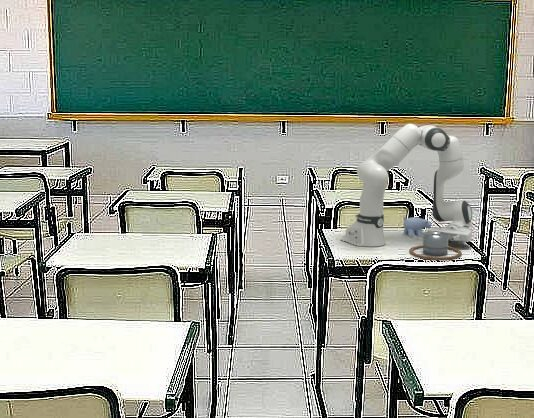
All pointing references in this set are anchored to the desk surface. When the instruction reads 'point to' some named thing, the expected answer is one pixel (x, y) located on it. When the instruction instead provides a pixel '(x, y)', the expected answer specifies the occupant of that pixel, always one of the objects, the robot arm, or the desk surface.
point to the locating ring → (435, 257)
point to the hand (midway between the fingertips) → (443, 237)
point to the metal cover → (435, 244)
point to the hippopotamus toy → (415, 226)
